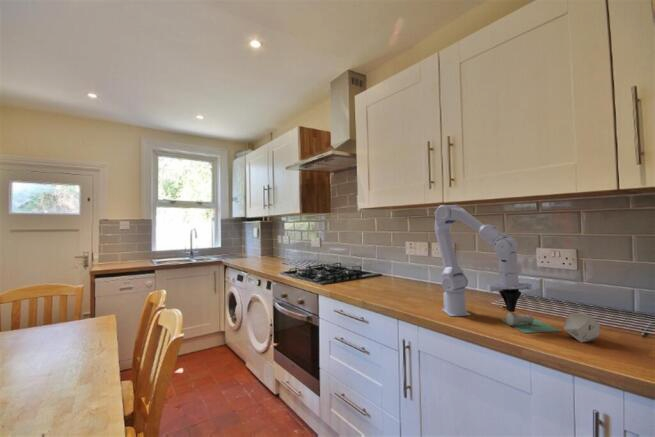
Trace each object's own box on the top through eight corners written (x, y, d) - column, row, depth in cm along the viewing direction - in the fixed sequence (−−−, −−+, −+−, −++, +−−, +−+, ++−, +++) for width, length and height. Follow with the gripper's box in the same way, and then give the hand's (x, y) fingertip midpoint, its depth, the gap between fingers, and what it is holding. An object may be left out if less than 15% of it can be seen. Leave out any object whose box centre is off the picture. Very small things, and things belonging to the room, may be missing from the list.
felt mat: (500, 319, 113) (500, 319, 113) (532, 318, 113) (532, 317, 113) (524, 333, 99) (524, 332, 99) (561, 331, 99) (561, 330, 99)
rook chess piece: (506, 310, 107) (528, 310, 108) (504, 321, 108) (525, 321, 109) (514, 316, 103) (537, 317, 103) (512, 328, 104) (534, 328, 104)
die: (561, 342, 92) (579, 322, 87) (555, 320, 99) (572, 301, 93) (591, 353, 90) (612, 334, 85) (583, 330, 97) (602, 311, 91)
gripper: (494, 275, 102) (496, 315, 102) (536, 272, 102) (539, 313, 102) (483, 271, 109) (485, 309, 109) (523, 269, 109) (525, 307, 109)
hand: (510, 311), depth 106 cm, fingers closed
